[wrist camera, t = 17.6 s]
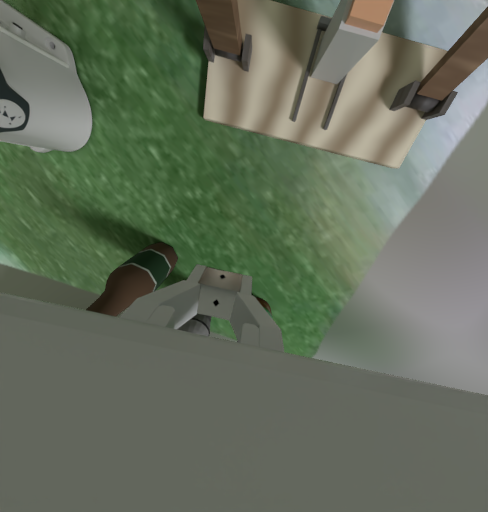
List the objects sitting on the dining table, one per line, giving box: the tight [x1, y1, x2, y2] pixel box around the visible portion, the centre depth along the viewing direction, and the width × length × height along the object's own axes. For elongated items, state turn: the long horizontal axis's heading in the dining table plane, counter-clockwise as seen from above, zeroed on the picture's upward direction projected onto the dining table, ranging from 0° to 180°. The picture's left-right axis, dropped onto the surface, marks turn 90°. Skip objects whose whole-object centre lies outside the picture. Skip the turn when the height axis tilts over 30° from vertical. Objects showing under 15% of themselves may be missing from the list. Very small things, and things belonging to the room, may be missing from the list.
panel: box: [203, 0, 458, 168], centre depth 26 cm, size 34×14×5 cm, turn 77°
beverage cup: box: [177, 313, 211, 336], centre depth 39 cm, size 7×7×20 cm
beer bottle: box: [86, 242, 178, 317], centre depth 32 cm, size 8×8×24 cm
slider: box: [311, 0, 394, 84], centre depth 20 cm, size 4×4×11 cm
